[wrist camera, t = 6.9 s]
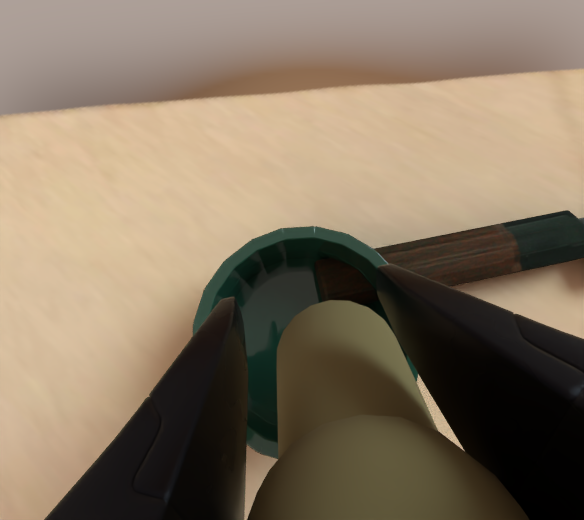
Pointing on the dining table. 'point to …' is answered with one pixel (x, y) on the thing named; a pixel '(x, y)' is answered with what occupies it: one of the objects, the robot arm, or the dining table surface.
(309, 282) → the pot
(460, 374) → the robot arm
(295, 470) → the olive pestle
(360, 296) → the kitchen knife
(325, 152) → the dining table surface
